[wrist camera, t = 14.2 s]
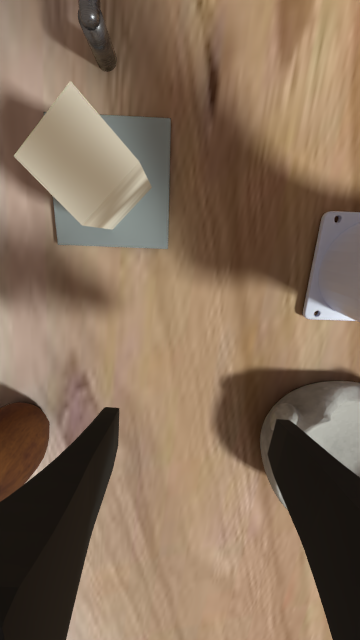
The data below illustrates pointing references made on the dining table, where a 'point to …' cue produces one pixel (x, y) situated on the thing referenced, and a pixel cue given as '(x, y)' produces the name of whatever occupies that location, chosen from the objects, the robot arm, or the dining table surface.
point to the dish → (319, 422)
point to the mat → (151, 211)
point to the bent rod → (97, 33)
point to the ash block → (83, 162)
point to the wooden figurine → (20, 444)
